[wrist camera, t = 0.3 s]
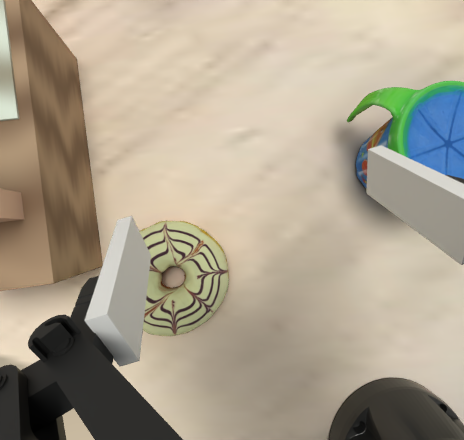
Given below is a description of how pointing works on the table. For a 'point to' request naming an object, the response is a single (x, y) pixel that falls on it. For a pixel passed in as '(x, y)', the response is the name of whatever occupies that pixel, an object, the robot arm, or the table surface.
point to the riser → (43, 154)
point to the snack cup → (419, 126)
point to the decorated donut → (196, 277)
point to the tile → (10, 206)
